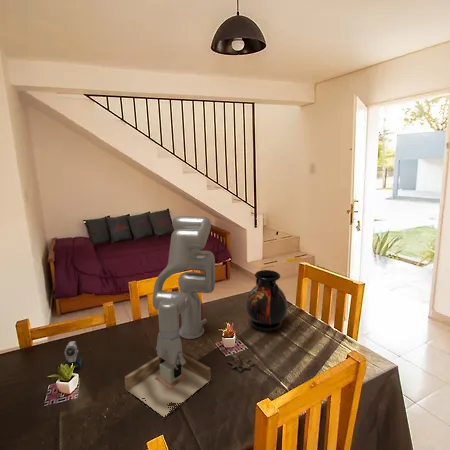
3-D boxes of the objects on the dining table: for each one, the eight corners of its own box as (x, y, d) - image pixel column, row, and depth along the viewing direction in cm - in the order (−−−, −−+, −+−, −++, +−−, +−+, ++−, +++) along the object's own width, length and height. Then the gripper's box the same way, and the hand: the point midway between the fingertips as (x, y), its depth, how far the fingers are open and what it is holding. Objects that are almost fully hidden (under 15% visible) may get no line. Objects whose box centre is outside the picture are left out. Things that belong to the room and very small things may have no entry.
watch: (64, 373, 133) (61, 349, 131) (68, 361, 141) (66, 338, 139) (79, 371, 135) (76, 347, 132) (82, 359, 142) (80, 337, 140)
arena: (172, 359, 142) (172, 347, 141) (210, 381, 129) (210, 368, 128) (125, 390, 124) (124, 376, 123) (164, 419, 111) (163, 404, 109)
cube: (171, 370, 134) (171, 357, 133) (181, 376, 130) (181, 363, 129) (160, 377, 129) (159, 364, 128) (170, 384, 126) (170, 370, 124)
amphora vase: (238, 319, 177) (238, 270, 170) (271, 311, 186) (273, 264, 179) (258, 339, 158) (260, 285, 151) (295, 329, 167) (298, 278, 160)
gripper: (146, 328, 128) (149, 367, 132) (177, 344, 117) (179, 387, 121) (161, 320, 134) (163, 358, 138) (192, 335, 123) (193, 376, 127)
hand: (170, 371), depth 129 cm, fingers open, 7 cm apart
